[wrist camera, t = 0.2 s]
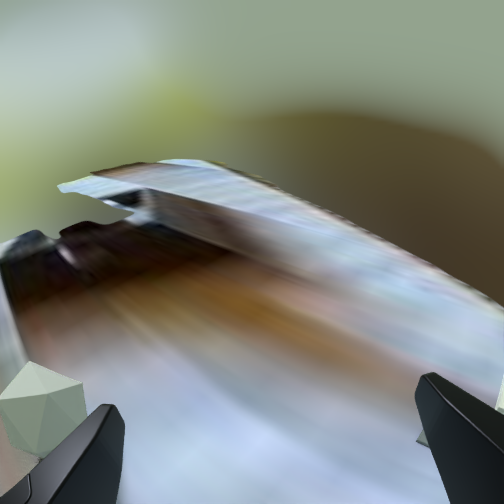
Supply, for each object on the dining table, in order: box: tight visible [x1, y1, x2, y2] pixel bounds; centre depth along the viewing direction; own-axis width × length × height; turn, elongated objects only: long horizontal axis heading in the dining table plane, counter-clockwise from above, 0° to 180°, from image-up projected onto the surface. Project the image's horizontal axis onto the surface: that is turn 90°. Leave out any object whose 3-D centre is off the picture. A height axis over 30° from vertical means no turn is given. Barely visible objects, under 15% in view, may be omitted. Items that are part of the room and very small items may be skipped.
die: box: [0, 361, 87, 459], centre depth 20 cm, size 8×9×10 cm
